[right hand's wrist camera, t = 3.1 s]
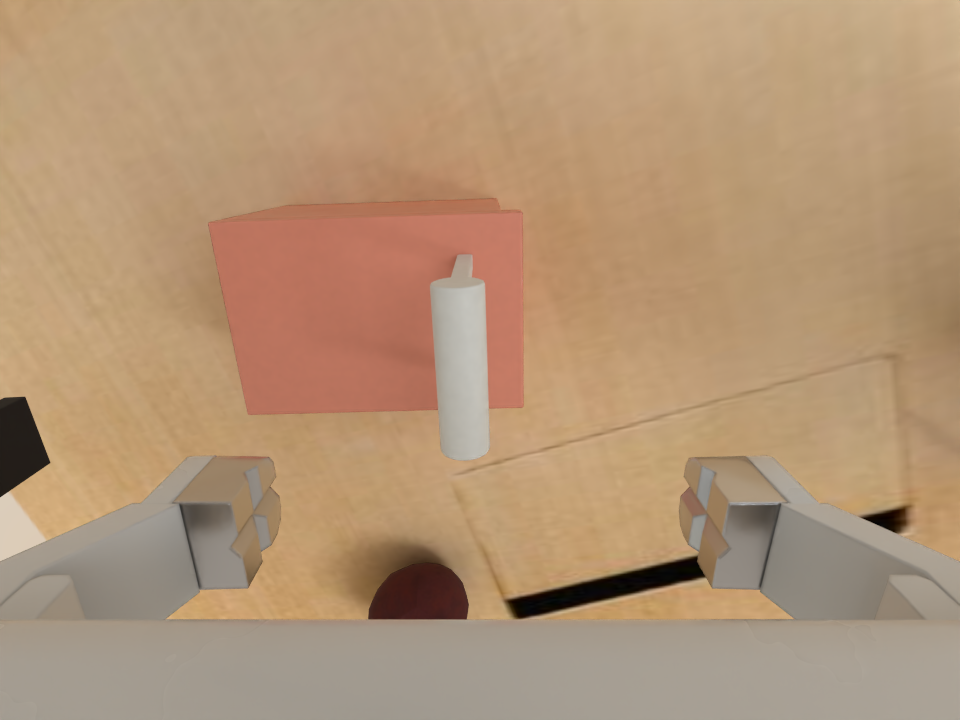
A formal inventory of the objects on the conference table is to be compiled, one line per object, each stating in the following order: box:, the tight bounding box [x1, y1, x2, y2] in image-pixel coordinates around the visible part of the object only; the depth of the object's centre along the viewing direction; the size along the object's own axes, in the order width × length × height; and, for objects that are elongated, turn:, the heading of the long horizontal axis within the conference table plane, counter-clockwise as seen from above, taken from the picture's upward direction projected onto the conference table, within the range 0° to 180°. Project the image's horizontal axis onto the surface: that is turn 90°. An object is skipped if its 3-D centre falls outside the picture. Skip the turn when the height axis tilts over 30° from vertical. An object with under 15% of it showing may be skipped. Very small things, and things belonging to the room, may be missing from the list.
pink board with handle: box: [208, 210, 524, 461], centre depth 22 cm, size 14×10×9 cm
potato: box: [368, 563, 469, 620], centre depth 40 cm, size 7×8×7 cm
